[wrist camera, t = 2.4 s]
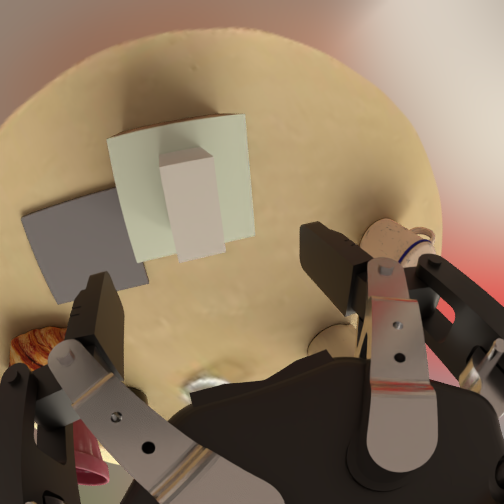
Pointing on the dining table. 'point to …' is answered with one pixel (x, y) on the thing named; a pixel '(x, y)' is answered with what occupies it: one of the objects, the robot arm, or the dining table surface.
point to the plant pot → (88, 457)
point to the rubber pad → (83, 244)
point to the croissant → (35, 346)
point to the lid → (184, 187)
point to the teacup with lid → (397, 242)
